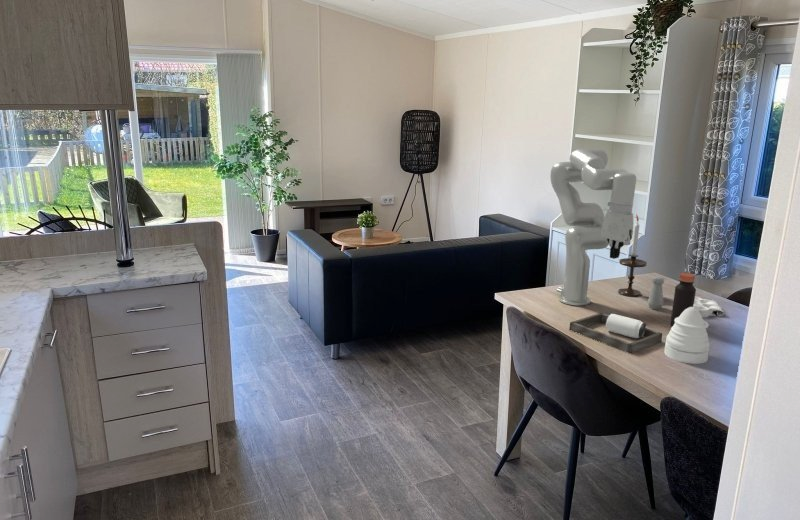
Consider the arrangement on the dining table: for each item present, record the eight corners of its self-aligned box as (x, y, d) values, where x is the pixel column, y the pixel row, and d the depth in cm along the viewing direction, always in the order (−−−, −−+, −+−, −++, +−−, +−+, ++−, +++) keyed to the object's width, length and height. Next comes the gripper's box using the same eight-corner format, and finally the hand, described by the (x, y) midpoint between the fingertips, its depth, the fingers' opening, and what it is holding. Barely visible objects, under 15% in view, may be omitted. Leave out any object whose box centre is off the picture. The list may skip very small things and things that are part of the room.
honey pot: (716, 361, 188) (725, 308, 183) (683, 365, 184) (691, 311, 180) (687, 345, 200) (694, 295, 195) (655, 349, 196) (662, 298, 192)
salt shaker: (660, 306, 239) (664, 275, 235) (664, 310, 233) (668, 279, 230) (645, 305, 239) (648, 274, 236) (649, 310, 234) (653, 279, 230)
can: (611, 330, 215) (643, 339, 206) (603, 331, 210) (636, 340, 202) (614, 313, 214) (647, 321, 206) (607, 313, 209) (640, 322, 201)
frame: (569, 330, 212) (569, 322, 212) (600, 320, 223) (600, 312, 222) (630, 353, 193) (631, 345, 192) (661, 341, 203) (662, 333, 202)
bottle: (674, 321, 221) (681, 271, 216) (693, 326, 217) (700, 274, 211) (667, 326, 217) (674, 274, 212) (686, 331, 212) (693, 278, 207)
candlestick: (611, 293, 254) (619, 213, 245) (623, 288, 261) (632, 210, 252) (635, 299, 247) (645, 217, 238) (647, 293, 254) (656, 214, 245)
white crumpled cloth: (725, 320, 224) (684, 316, 228) (714, 305, 241) (676, 302, 245) (727, 312, 223) (685, 308, 227) (716, 297, 240) (677, 294, 244)
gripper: (596, 205, 210) (590, 254, 216) (632, 213, 198) (625, 265, 204) (609, 203, 214) (603, 251, 220) (646, 211, 202) (638, 261, 208)
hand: (614, 257), depth 212 cm, fingers closed
